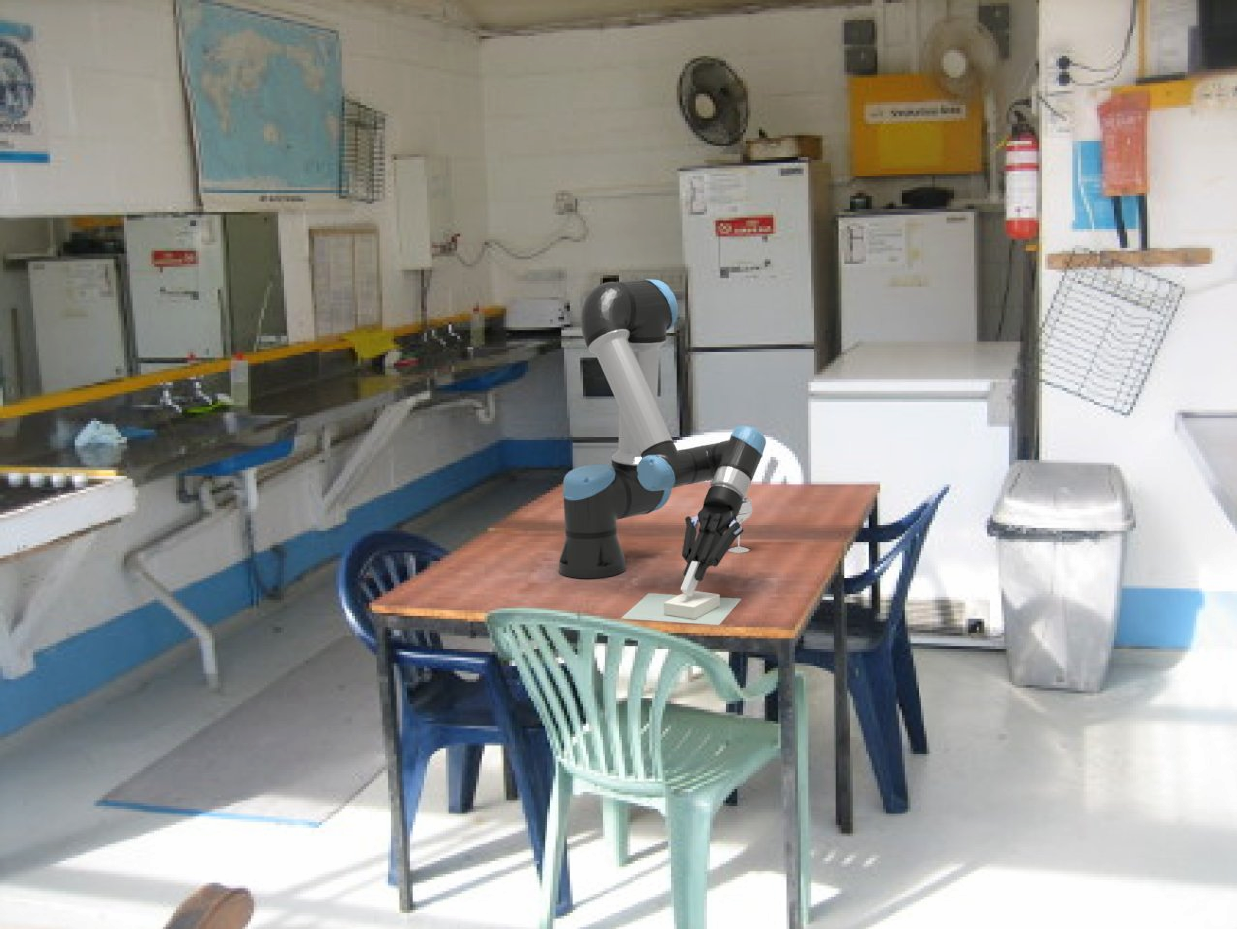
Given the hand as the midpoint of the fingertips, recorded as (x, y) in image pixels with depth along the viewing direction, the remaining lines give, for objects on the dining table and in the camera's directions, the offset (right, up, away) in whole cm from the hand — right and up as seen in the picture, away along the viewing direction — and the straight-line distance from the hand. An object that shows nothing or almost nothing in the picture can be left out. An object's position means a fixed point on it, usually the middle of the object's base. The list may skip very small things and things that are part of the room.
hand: (686, 592), depth 263 cm
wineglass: (+15, +5, +51) cm, 53 cm away
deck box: (+4, -2, +6) cm, 8 cm away
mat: (0, -4, +4) cm, 6 cm away
